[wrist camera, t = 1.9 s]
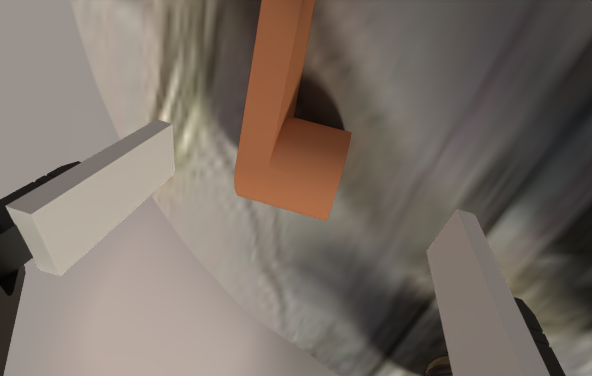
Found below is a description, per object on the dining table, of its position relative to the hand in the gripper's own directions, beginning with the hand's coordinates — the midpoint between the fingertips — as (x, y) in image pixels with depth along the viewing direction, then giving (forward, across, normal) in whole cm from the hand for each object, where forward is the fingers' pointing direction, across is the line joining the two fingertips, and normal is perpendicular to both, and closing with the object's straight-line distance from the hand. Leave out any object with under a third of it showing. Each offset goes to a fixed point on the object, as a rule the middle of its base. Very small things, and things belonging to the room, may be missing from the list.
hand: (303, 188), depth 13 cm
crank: (+15, +2, 0) cm, 15 cm away
